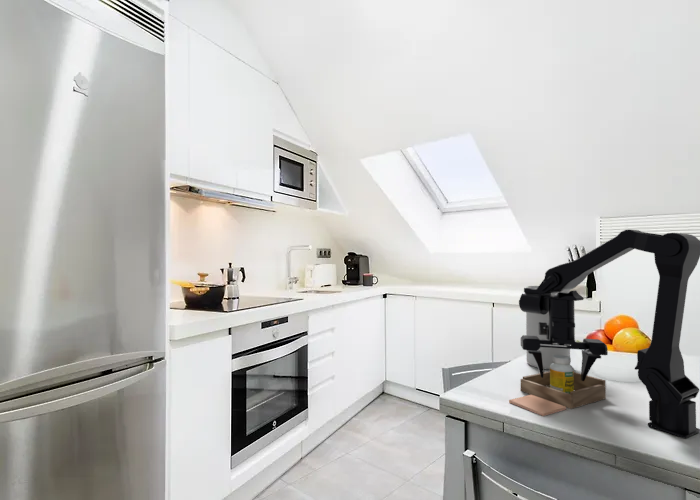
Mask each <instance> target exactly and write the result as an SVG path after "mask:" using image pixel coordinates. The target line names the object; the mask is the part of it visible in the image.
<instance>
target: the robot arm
mask: <svg viewBox="0 0 700 500" xmlns="http://www.w3.org/2000/svg"><path fill="white" fill-rule="evenodd" d="M633 250H637V251H642V252H646V253H651V254H653V257H654V264H655V266H656V269H657V272H658V276H659V281H658V285H657V286H658V287H657V296H656V302H655V303H656V304H655V309H654V310H655V311H654V317H653V325H652V333H651V334H652V335H651V341H650V344H649V346H648V347H647V348H643V349H639V350H637V353H636V354H637V355H636V356H637V357H636V358H637V362H636V365H635V366H634V370H636V371H637V377H638V380H640V381H641V383H642V384H643V385H644V386H645V388H646V390H647V394H648V395H649V398H650V399H651V400H649V401H648V418H649V419H648V420H649V421H650V422H647V426H648V427H650V428H654V429H656V430H660V431H662V432H665V433H669V434H671V435H674V436H677V437H680V438H684V439H688V438H690V437H692V436H694V435H696V434H698V433H700V428H697V406H696V404H697V402H696V401H695V400H694V401H693V400H692V399H695V398H697V397H698V394H699V393H700V388H699V387H698V386H697V385H696V384H695V383H694V382H693V381H692V380H691V379H690V378H689V377H688V376H687V375H686V373H685V372H686V371H685V364H684V363H685V361H684V358H683V355H682V352H681V349H680V342H681V341H680V340H681V336H682V335H681V334H682V328H683V320H684V311H685V307H686V306H685V303H686V298H687V296H686V295H687V290H688V284H689V279H690V276H691V275H692V274H693V272H694V271H695V268H696V267H697V265H698V262H699V260H700V239H699V238H698V237H696V236H695V235H693V234H689V233H681V232H680V233H678V232H668V233H665V234H658V233H651V232H645V231H644V232H643V231H641V230H639V229H624V230H622V231H620V232H619V233H618V234H617V235H615V236H613V237H612V238H610V239H609V240H606V241H605V242H603V243H601V244H600V245H599V246H597V247H595V248H593V249H592V250H590V251H587V253H585V254H584V255H583V254H582V255H581V256H580V257H578V258H576V259H575V260H572V261H569V262H565V263H562V264H558V265H557V266H553V267H551V268H549V269H547V270H546V271H545V273H544V279H542V281H541V283H540V284H539V285H538V286H539V287H538V288H537V289H534V288H526V287H524V288H523V292H522V294H521V295H520V297H519V300H518V306H519V308H520V311H522V312H524V313H526V312H528V313H536V314H543V315H545V314H547V313H548V311H549V325H547V323H543V322H539V328H538V329H539V335H546V339H548V340H540V339H539V338H538V337H537V336H528V335H525V334H523V335H522V336H521V337H520V346H521V348H522V350H524V351H526V352H527V351H528V353H529V354H533V356H534V358H535V361H536V363H537V366H538V368H537V370H538V372H539V373H540V375H541V378H543V372H544V369H543V363H542V353H541V351H540V350H539V349H540V347H548V348H564V349H570V350H581V358H582V360H581V369H580V374H581V380H582V381H584V380H585V378H586V376H588V374H589V372H590V370H591V368H592V367H593V365H594V363H595V362H596V361H597V359H602V356H608V351H609V350H608V345H607V344H606V343H605V342H603V341H602V340H600V339H598V338H597V339H596V338H583V340H582V341H576V339H575V338H576V336H575V334H576V333H575V332H576V331H575V329H576V323H575V320H576V319H575V302H576V301H579V302H580V301H584V299H585V298H584V297H583V296H582V295H581V294H580V293H578V291H577V290H573V289H575V288H576V287H578V286H579V285H580V284H581V283H583V282H584V281H585V280H586V278H587V277H588V275H590V274H591V273H593V272H594V271H597V270H598V269H600V268H602V267H604V266H606V265H608V264H609V263H611V262H613V261H615V260H617V259H618V258H620V257H623V256H624V255H626V254H628V253H630V252H632V251H633ZM563 290H570V292H569V293H561V292H562V291H563ZM558 292H559V293H558ZM551 293H557V294H556V295H555V296H552V295H551ZM553 343H556V344H553ZM558 344H559V345H558ZM569 345H570V346H569Z"/></svg>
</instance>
